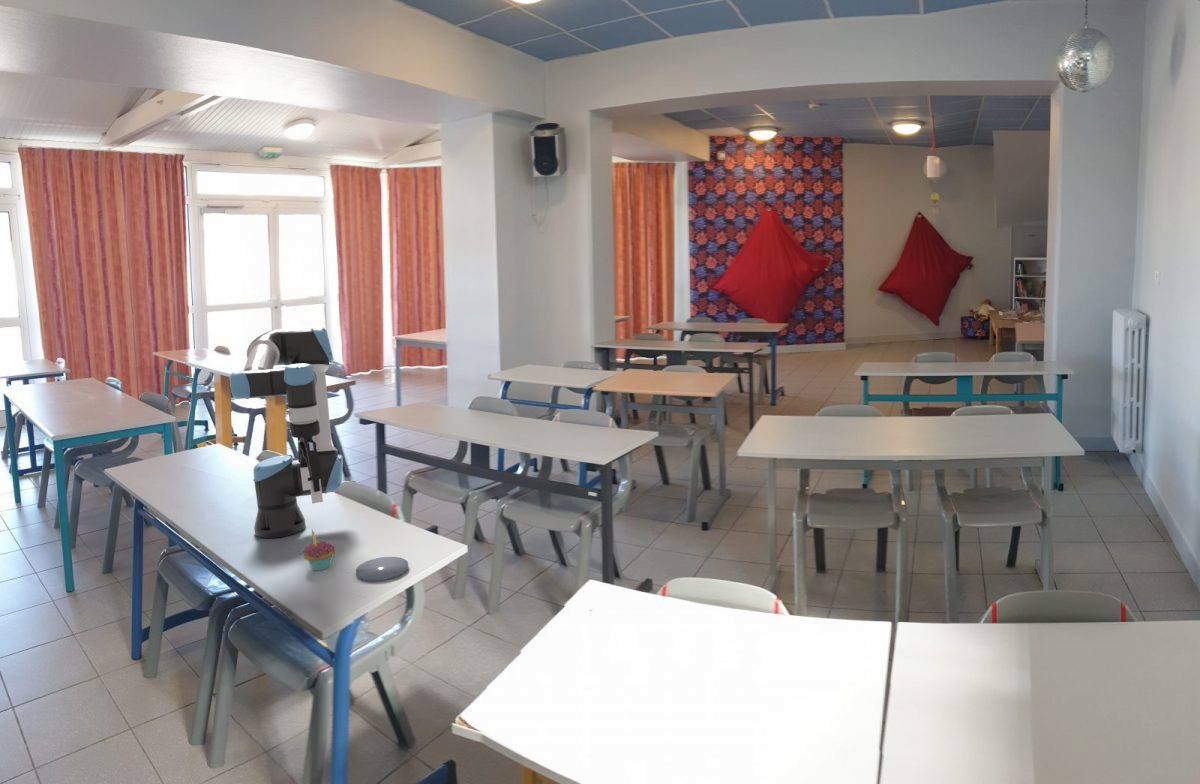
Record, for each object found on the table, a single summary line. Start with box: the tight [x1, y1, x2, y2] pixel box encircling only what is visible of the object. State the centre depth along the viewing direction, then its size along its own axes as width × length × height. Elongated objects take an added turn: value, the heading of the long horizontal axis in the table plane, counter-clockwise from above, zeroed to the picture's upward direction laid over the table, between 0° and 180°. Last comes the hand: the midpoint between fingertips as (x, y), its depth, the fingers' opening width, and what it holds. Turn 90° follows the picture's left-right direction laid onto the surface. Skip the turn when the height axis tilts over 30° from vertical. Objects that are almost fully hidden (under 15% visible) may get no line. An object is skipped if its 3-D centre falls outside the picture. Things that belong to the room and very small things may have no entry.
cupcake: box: [302, 529, 336, 571], centre depth 224 cm, size 9×8×12 cm
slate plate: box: [355, 556, 409, 583], centre depth 221 cm, size 14×14×1 cm
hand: (312, 495), depth 221 cm, fingers open, 13 cm apart
